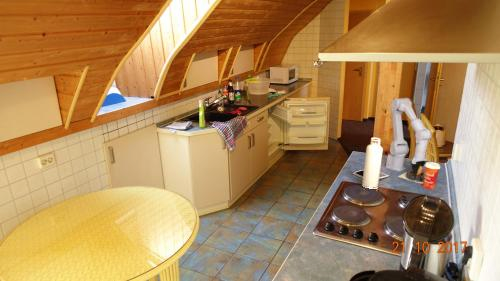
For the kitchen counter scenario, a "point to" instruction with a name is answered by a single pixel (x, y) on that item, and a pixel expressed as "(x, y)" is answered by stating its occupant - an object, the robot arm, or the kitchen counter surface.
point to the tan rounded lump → (418, 171)
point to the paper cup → (430, 175)
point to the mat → (406, 178)
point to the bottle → (372, 164)
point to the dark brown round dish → (414, 176)
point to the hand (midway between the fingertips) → (416, 172)
